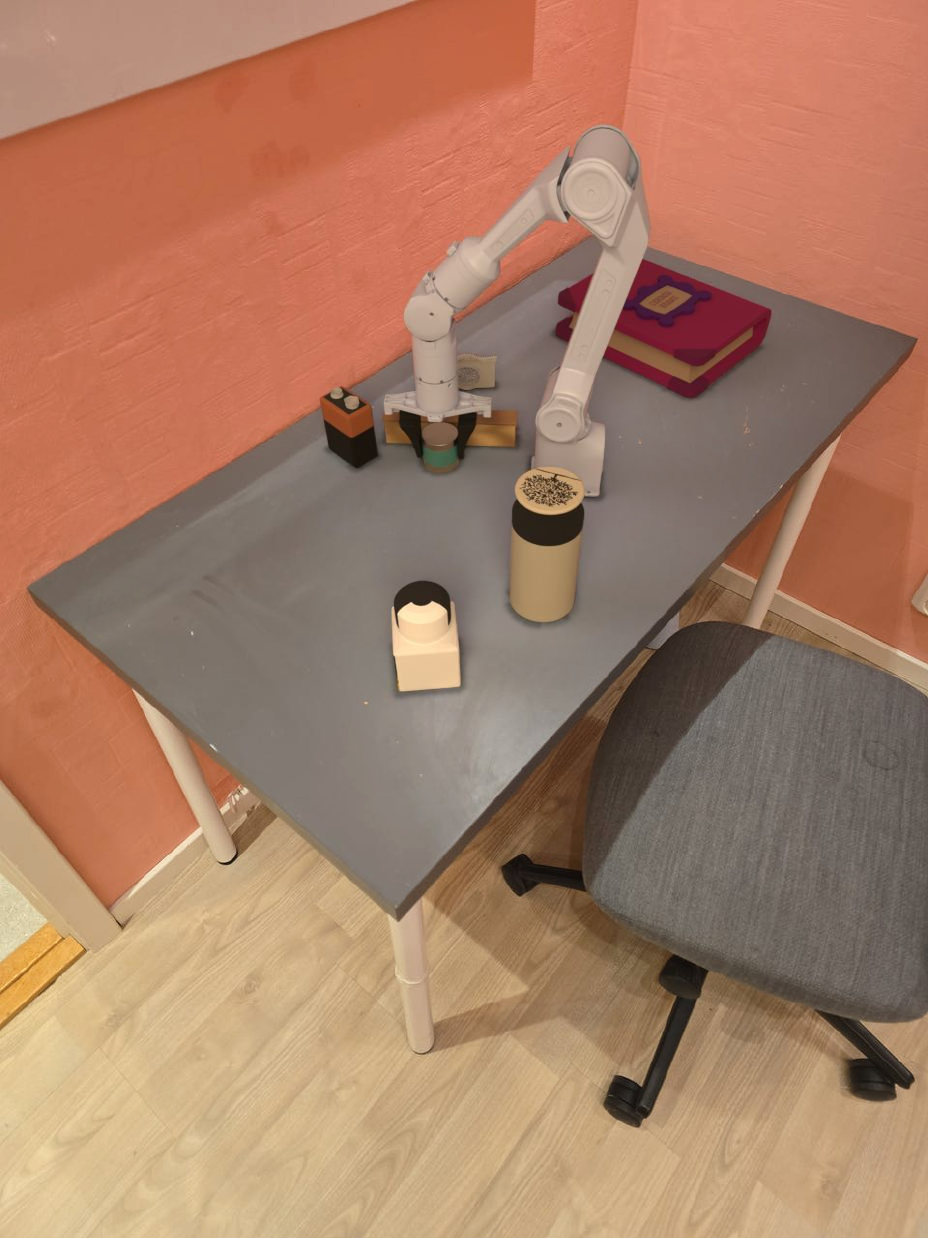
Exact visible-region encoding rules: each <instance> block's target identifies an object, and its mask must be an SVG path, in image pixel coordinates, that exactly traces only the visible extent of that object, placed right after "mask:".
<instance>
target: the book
mask: <svg viewBox="0 0 928 1238" xmlns="http://www.w3.org/2000/svg"><path fill="white" fill-rule="evenodd" d="M592 276H593V273H591V274H590V275H588V276H586V277H584V278H583V279H581V280H578V281H577V282H576V283H574V284H573V285H571V286H570V287H569V286H567V287H566V288H564V289H562V290H561V291H559V292H558V294H557V305H559V307H561V308H564V309H566V310H568V311H570V312H572V313H573V314H571V315H569V316H568V317H567V316H566V317H565V318H563V319H562V320H560V321H559V322H557V323H556V326H555V336H556V337H557V338H559V339H560V340H562V341H565V342H567V343H569V340H570V337H571V334H572V332H573V329H574V326H575V323H576V320H577V318H578V315H579V312H580V309H581V306H582V304H583V301H584V298H585V295H586V292H587V290H588V287H589V284H590V281H591V279H592ZM772 313H773V312H772V309H771V308H770V307H766V306H764V305H761V304H759V303H756V302H754V301H751V300H748V299H746V298H744V297H742V296H738V295H736V294H734V293H731V292H728V291H725V290H723V289H721V288H718V287H715V286H713V285H711V284H708V283H705V282H703V281H700V280H697V279H695V278H692V277H691V276H688V275H685V274H682V273H680V272H678V271H675V270H672V269H670V268H668V267H665V266H662V265H660V264H657V263H655V262H653V261H650V260H648V259H645V258H643V259H642V261H641V264H640V266H639V269H638V271H637V274H636V276H635V278H634V281H633V283H632V286H631V288H630V291H629V293H628V296H627V298H626V301H625V303H624V306H623V308H622V311H621V313H620V316H619V318H618V321H617V323H616V326H615V328H614V331H613V333H612V336H611V338H610V340H609V343H608V345H607V348H606V350H605V353H604V355H603V358H605V359H606V360H609V361H611V362H613V363H615V364H617V365H618V366H621V367H624V368H625V369H627V370H629V371H632V372H634V373H636V374H638V375H640V376H642V377H645V378H647V379H649V380H651V381H653V382H655V383H656V384H660V385H661V386H664V387H666V388H667V390H669V391H671V392H674V393H676V394H678V395H680V396H682V397H685V398H688V399H692V398H697V397H698V396H700V395H701V394H702V393H703V392H705V391H706V390H707V389H708V387H709V386H710V385H712V384H713V383H714V382H716V381H717V380H718V379H719V378H721V377H722V376H723V375H724V374H726V373H727V372H729V370H731V369H733V367H735V366H736V365H738V364H739V363H740V362H741V361H742V360H744V359H745V358H746V357H748V356H749V355H750V354H751V353H753V352H754V351H755V350H757V349H758V348H759V347H760V346H761V344H762V343H763V341H764V339H765V337H766V335H767V332H768V330H769V325H770V321H771V318H772Z"/></svg>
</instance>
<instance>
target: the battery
mask: <svg viewBox="0 0 928 1238" xmlns="http://www.w3.org/2000/svg"><path fill="white" fill-rule="evenodd" d="M319 404H320V409H321V415H322V420H323V425H324V426H323V427H324V430H325V431H324V432H325V436H326V441H327V447H328V449H329V450H330V451H331V452H332V453H334V454H335V455H337V456H338V457H339V458H341V459H342V460H343V461H345V462H346V463H348V464H349V465H350V466H352V467H353V468H355V469H359V468H360V467H362V466H363V465H365V464H367V463H368V462H371V461H372V460H374V459H375V458H377V457H378V454H379V453H378V445H377V438H376V437H377V436H376V429H375V424H374V416H373V408H372V404H370V402H367V401H366V400H365V399H363V398H362V397H360V396H358V395H357V394H356V393H354V392H353V391H351V390H350V389H348V388H347V387H345V386H343V385H341V386H339V387H333V388H332V389H330V391H329V392H328V393H326V394H324V395H322V396H321V397H320V398H319Z"/></svg>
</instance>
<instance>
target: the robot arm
mask: <svg viewBox="0 0 928 1238" xmlns="http://www.w3.org/2000/svg"><path fill="white" fill-rule="evenodd" d="M571 147H572V144H570V145H568V146H567V147H566V148H564V149H563V150H562V151H560V153H558V154H557V155H556V157H555V158H554V159H552V161H551V162H550V163H548V165H546V166H545V168H544V169H542V170H541V171H540V173H539V174H537V176H536V177H535V178H534V179H533V180H532V181H531V182H530V183H529V184H528V186H527V187H526V188H525V189H524V190H523V191H522V192H521V193H520V194H519V196H518V197H516V199H515V200H514V201H513V202H512V204H510V205H509V206H508V208H507V209H506V210H505V211H504V212H503V213H502V214H501V216H500V217H498V218H497V220H496V221H495V222H494V223H493V225H491V226H490V228H489V229H488V230H487V231H486V232H485V233H484V234H483V235H482V236H476V235H475V236H474V235H468V236H465V237H464V238H463V239H462V240H461V241H460V242H459V241H458V240H454V241H452V242H451V244H450V245H448V248H447V249H446V255H447V256H446V257H445V258H444V259H443V260H442V261H441V262H440V264H439V265H437V266H436V267H435V268H434V269H433V271H431V270H430V269H428V270H427V271H426V272H425V273H424V274H423V276H422V279H420V280H419V281H418V283H417V284H416V286H415V288H414V289H413V292H412V293H411V296H410V297H409V299H408V300H407V303H406V305H405V308H404V312H403V323H404V325H405V327H406V329H407V330H408V331H409V332H410V334H411V350H412V361H413V362H412V364H413V374H414V375H413V376H414V385H415V387H414V388H415V390H411V391H406V392H400V393H394V394H393V393H391V394H384V395H385V396H384V399H383V410H384V411H385V415H392V414H393V412H399V415H400V416H399V418H400V419H399V426H400V428H401V429H402V430H403V431H404V432H405V434H406V435H407V436H408V438H409V439H410V441H411V443H412V444H411V445H412V447H413V449H414V451H415V454H416V458H417V459H423V453H422V438H421V433H422V430H421V416H425V417H427V419H428V421H429V422H442V421H443V418H445V417H450V416H455V415H459V418H458V425H457V429H458V438H459V449H458V459H459V460H464V458H465V451H466V447H467V445H466V444H467V442H468V439H469V437H470V436H471V434H472V432H473V431H474V429H475V426H476V420H477V414H483V417H491V412H492V410H493V397H492V396H481V395H477V394H472V393H469V392H465V391H461V390H459V389H458V379H459V378H458V376H459V373H458V372H459V370H458V364H457V355H458V340H457V333H456V331H457V330H456V329H457V328H456V318H455V316H456V315H458V314H460V313H463V312H464V311H465V310H466V309H467V308H468V307H469V306H471V304H472V303H474V301H475V300H477V298H479V297H480V296H481V295H482V294H483V293H484V292H485V291H486V290H487V289H488V288H489V287H490V286H491V285H493V283H495V281H497V280H498V279H499V277H500V275H501V261H502V260H503V259H504V258H505V257H506V256H507V255H508V254H509V253H510V252H511V251H513V250H514V249H515V248H516V247H517V246H518V245H519V244H520V243H522V242H523V241H524V240H525V239H526V238H528V236H530V235H531V234H533V232H534V231H536V229H538V228H539V227H540V226H541V225H542V224H543V223H545V222H546V221H552V222H556V223H559V224H560V223H561V224H568V223H569V221H570V219H571V217H572V218H573V219H574V220H575V221H577V223H579V224H580V225H581V226H583V227H584V228H585V229H586V230H588V231H589V232H590V233H591V234H593V235H594V236H595V238H596V239H597V240H598V242H599V244H600V246H601V247H602V248H601V250H600V254H599V257H598V259H597V262H596V265H595V267H594V271H593V273H592V274H593V276H592V279H591V281H590V284H589V287H588V290H587V292H586V295H585V298H584V301H583V304H582V306H581V309H580V312H579V315H578V318H577V320H576V323H575V326H574V329H573V332H572V334H571V337H570V340H569V342H567V346H566V349H565V350H564V353H563V355H562V357H561V360H560V362H559V363H558V364H557V365H556V366H554V368H552V370H551V371H550V372H549V373H548V375H547V379H546V386H545V389H544V391H543V396H542V398H541V402H540V406H539V408H538V410H537V413H536V415H535V419H534V420H535V421H534V424H535V441H534V442H535V444H534V445H535V446H534V455H532V456H531V464H530V466H531V467H530V470H532V469H535V468H539V467H558V468H562V469H565V470H568V471H570V472H572V473H573V474H575V475H576V476H577V477H578V478H579V479H580V480H581V481H582V483H583V485H584V489H585V494H584V497H591V498H593V497H594V498H596V497H599V496H600V494H601V493H600V488H601V480H602V474H603V472H604V457H605V447H606V446H605V445H606V424H605V423H603V422H597V421H595V420H592V419H591V418H590V414H589V412H588V410H589V406H590V402H591V396H592V395H593V392H594V389H595V382H594V381H595V378H596V375H597V374H598V373H597V372H598V370H599V368H600V365H601V363H602V360H603V358H604V357H603V355H604V353H605V350H606V348H607V345H608V343H609V340H610V338H611V336H612V333H613V331H614V328H615V326H616V323H617V321H618V318H619V316H620V313H621V311H622V308H623V306H624V303H625V301H626V298H627V296H628V293H629V291H630V288H631V286H632V283H633V281H634V278H635V276H636V274H637V271H638V269H639V266H640V264H641V261H642V259H644V256H645V253H646V252H647V248H648V246H649V241H650V236H651V230H652V222H651V217H650V212H649V206H648V201H647V195H646V191H645V186H644V181H643V171H642V160H641V159H642V158H641V156H640V154H639V153H638V151H637V150H636V148H635V147H634V145H633V143H632V142H631V140H630V139H629V137H628V136H627V134H626V133H625V132H624V131H623V130H622V129H620V128H618V127H617V126H615V125H611V124H605V123H604V124H603V123H602V124H597V125H594V126H591V127H589V128H588V129H586V130H585V131H584V132H582V134H581V135H580V136H579V137H578V138H577V141H576V143H575V145H574V148H573V152H572V156H570V152H571V149H572V148H571ZM384 411H383V412H384Z"/></svg>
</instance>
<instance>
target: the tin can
mask: <svg viewBox="0 0 928 1238" xmlns="http://www.w3.org/2000/svg"><path fill="white" fill-rule="evenodd" d="M421 438H422V453H423V455H422V461H423V466H424V467H425V468H426V470H428V471H430V472H432V473H435V474H446V473H449V472H451V471H454V470H456V468H458V466H459V464H460V459H458V449H459V438H458V430H457V428H456V427H455V426H453V425H451V424H449V423H445V422H437V423H432V424H430V425H428V426H426V427H425V428H424V429H423V430H422V433H421Z"/></svg>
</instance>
